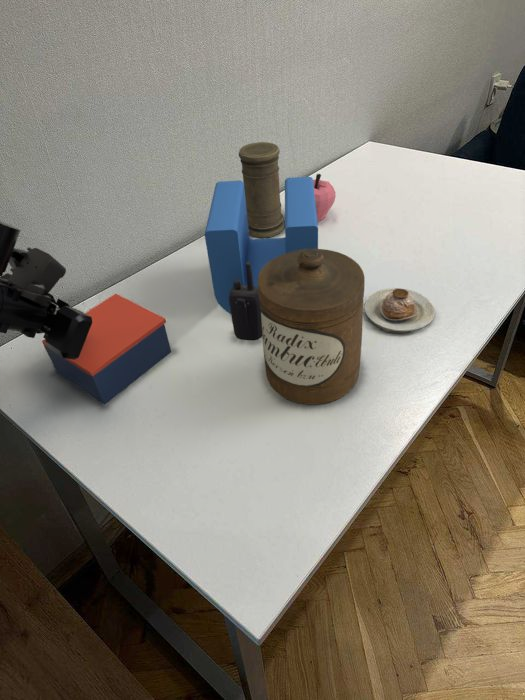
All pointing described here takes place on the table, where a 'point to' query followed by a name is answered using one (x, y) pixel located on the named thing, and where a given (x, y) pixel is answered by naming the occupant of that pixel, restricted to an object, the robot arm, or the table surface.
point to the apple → (323, 197)
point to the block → (238, 248)
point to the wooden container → (312, 324)
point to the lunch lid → (114, 332)
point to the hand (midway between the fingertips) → (85, 324)
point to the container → (262, 188)
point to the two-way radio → (246, 309)
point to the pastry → (399, 310)
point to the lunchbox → (116, 367)
